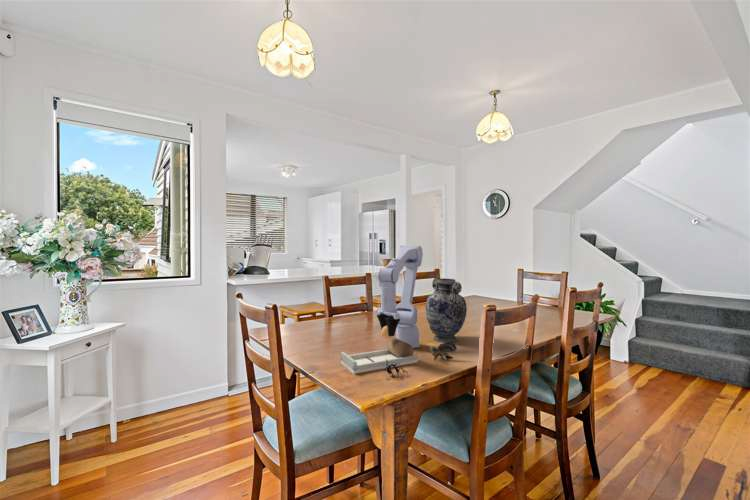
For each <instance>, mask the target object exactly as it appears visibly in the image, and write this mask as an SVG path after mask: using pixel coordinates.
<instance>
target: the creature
mask: <svg viewBox="0 0 750 500" xmlns="http://www.w3.org/2000/svg"><path fill="white" fill-rule="evenodd" d="M386 360H387V359H386ZM396 364H397V363H396ZM396 364H395V365H394V364H391V365H388V361H387V364H386V368H385V372H387V374H389V375H392V378H395V376H394V373H393V371H392V367H391V366H394V367H393V368H394V370H395V372H396V376H397V378H400V379H402V380H403V377H400V376H399V373H400V370H402V373H406V374H407V375H409V373H408V372H407V370H404V368H403V367H399V366H396ZM399 364H400V363H399ZM387 365H388V367H387Z"/></svg>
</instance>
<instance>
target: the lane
mask: <svg viewBox="0 0 750 500" xmlns="http://www.w3.org/2000/svg"><path fill="white" fill-rule="evenodd" d="M386 359H387V360H386ZM387 361H388V365H391V364H394V365H395V364H396V363H397V364H396V367H399V366H400V367H401V366H404V365H405V366H406V365H409V364H415V363H418V354H413V355H412V356H406V357H401V358H399V357H398V356H396V355H394V354H392V353H391V352H389V351H388V348H386V349H380V350H374V351H366V352H359V353H353V354H349V355H348V354H347V353H346V352H344V351H342V352H340V364H342V365H343V366H344V367H345V368H346V369H347V370H349V371H350V372H351V373H352V374H355V375H356V374H361V373H366V372H373V371H377V370H383V369H386V364H387ZM399 363H400V364H399ZM388 365H387V367H388ZM391 368H395V367H394V366H391Z"/></svg>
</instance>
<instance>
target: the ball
mask: <svg viewBox="0 0 750 500" xmlns="http://www.w3.org/2000/svg"><path fill="white" fill-rule="evenodd" d="M381 336H382V337H383V338H384V339H389V340H390V339H392V338H394V336H389V335H388V326H384V327H383V328H382V330H381Z"/></svg>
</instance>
